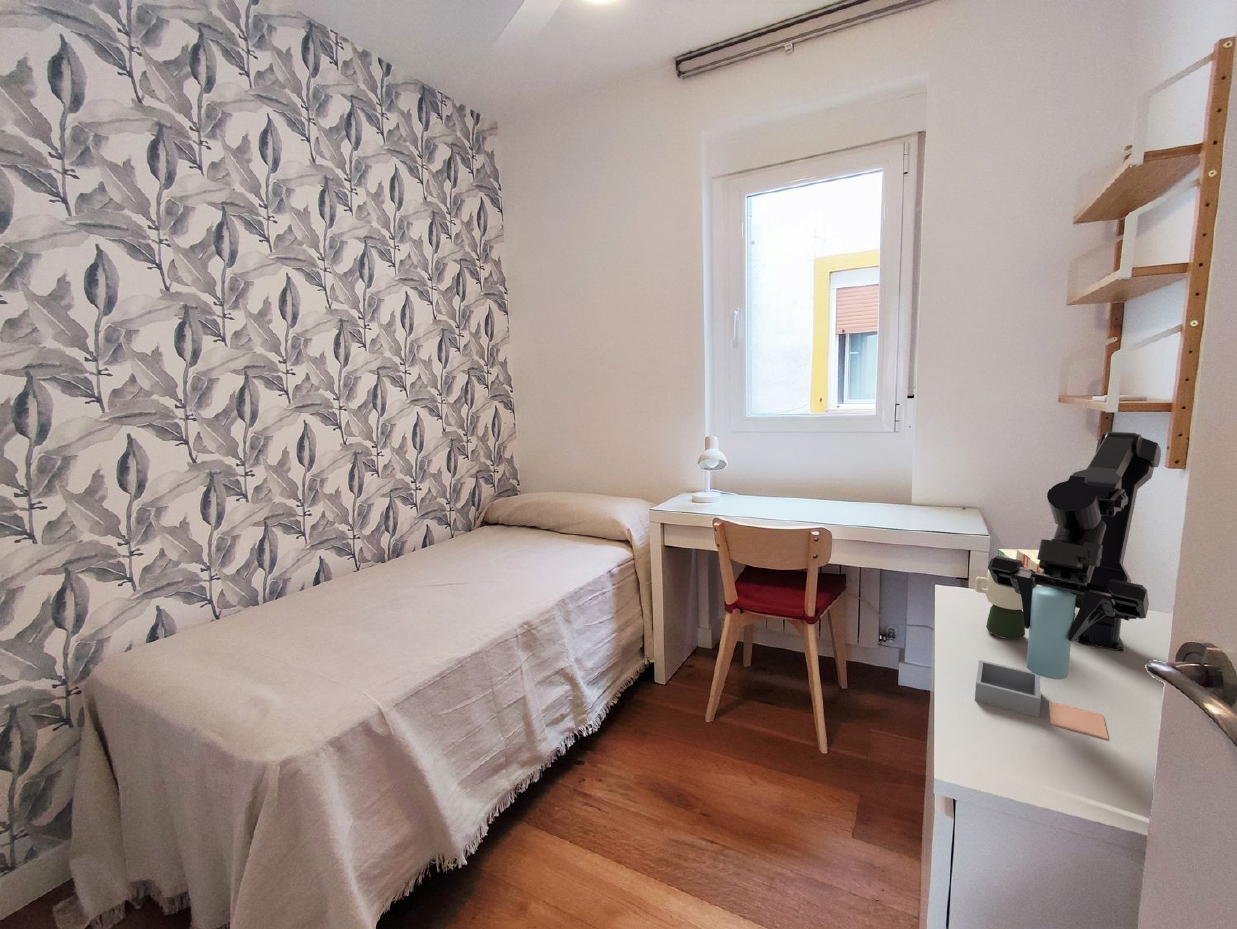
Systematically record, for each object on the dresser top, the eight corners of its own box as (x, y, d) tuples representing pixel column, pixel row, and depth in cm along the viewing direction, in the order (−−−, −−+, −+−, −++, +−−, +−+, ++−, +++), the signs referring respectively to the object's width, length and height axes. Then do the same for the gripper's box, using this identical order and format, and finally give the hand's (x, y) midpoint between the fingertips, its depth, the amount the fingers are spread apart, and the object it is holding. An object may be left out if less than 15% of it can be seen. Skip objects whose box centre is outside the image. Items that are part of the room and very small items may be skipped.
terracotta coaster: (1048, 704, 85) (1048, 700, 85) (1102, 718, 82) (1102, 714, 81) (1050, 726, 80) (1050, 722, 80) (1107, 742, 76) (1108, 738, 76)
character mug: (1038, 633, 107) (1043, 571, 105) (1040, 649, 101) (1046, 583, 99) (972, 621, 113) (976, 562, 111) (971, 635, 108) (975, 573, 105)
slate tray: (977, 677, 93) (979, 659, 93) (1037, 692, 88) (1039, 673, 88) (974, 702, 87) (975, 682, 86) (1038, 719, 82) (1040, 699, 81)
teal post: (1023, 658, 86) (1029, 584, 84) (1063, 665, 84) (1070, 589, 81) (1029, 674, 82) (1036, 597, 80) (1071, 682, 79) (1079, 602, 77)
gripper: (996, 508, 88) (965, 590, 84) (1154, 531, 74) (1127, 632, 69) (1009, 543, 94) (981, 621, 90) (1158, 570, 80) (1134, 666, 75)
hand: (1047, 633), depth 81 cm, fingers closed on teal post, 5 cm apart
